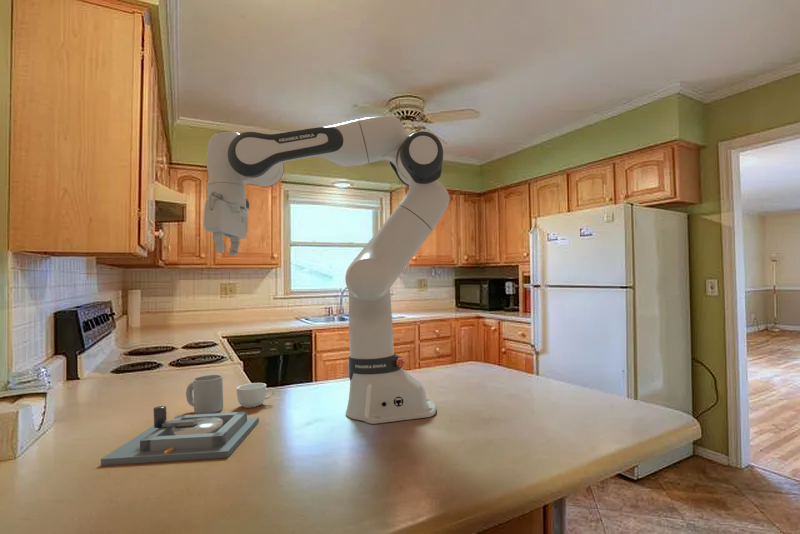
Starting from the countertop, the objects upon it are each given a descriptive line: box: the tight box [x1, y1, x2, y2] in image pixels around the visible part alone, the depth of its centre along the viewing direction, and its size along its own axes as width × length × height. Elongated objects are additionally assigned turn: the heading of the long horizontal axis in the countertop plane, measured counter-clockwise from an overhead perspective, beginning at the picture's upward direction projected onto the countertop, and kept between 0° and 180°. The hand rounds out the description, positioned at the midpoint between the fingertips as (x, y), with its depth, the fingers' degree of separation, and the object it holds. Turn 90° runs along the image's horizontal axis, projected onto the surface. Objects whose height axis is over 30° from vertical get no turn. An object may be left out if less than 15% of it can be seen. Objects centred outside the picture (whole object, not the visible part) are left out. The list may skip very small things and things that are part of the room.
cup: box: [185, 374, 224, 415], centre depth 117 cm, size 7×10×9 cm
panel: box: [100, 411, 260, 466], centre depth 94 cm, size 24×21×3 cm
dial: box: [153, 405, 223, 435], centre depth 94 cm, size 14×10×6 cm
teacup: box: [236, 382, 275, 409], centre depth 120 cm, size 10×8×5 cm
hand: (227, 254), depth 107 cm, fingers open, 8 cm apart
